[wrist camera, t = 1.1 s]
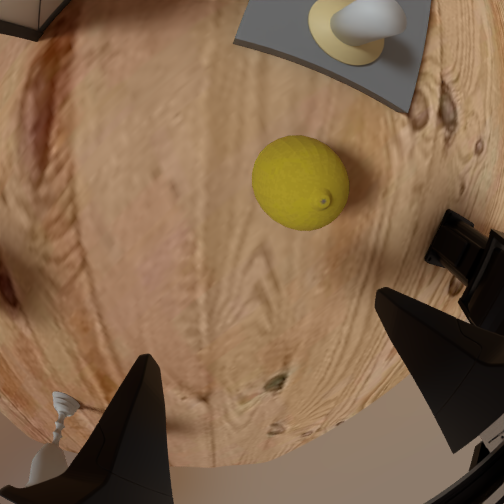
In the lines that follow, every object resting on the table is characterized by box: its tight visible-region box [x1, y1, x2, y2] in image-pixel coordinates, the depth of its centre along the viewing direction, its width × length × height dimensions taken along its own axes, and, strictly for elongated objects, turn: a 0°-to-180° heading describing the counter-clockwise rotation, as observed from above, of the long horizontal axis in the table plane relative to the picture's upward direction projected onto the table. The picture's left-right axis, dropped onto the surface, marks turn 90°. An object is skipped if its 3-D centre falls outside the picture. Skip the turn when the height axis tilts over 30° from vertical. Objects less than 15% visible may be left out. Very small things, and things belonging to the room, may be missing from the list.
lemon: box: [252, 135, 349, 231], centre depth 16 cm, size 6×6×8 cm
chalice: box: [25, 392, 80, 487], centre depth 23 cm, size 7×7×18 cm
